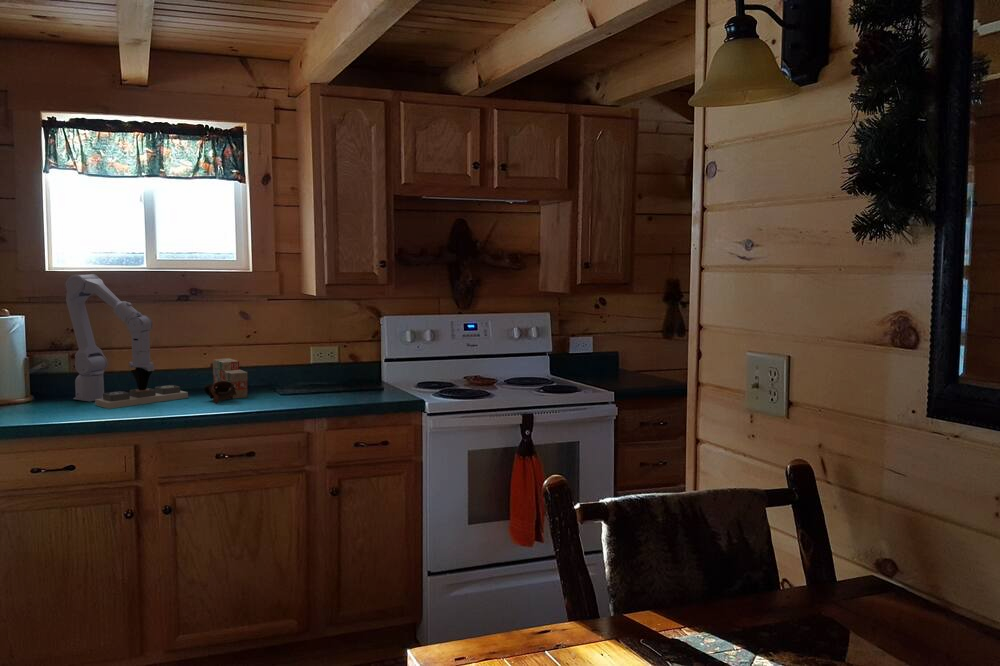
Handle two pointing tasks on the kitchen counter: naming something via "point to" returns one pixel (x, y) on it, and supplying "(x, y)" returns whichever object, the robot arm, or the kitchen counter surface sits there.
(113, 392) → the two pip button
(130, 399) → the button panel
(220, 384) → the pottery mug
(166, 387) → the one pip button
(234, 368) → the stack of blocks
